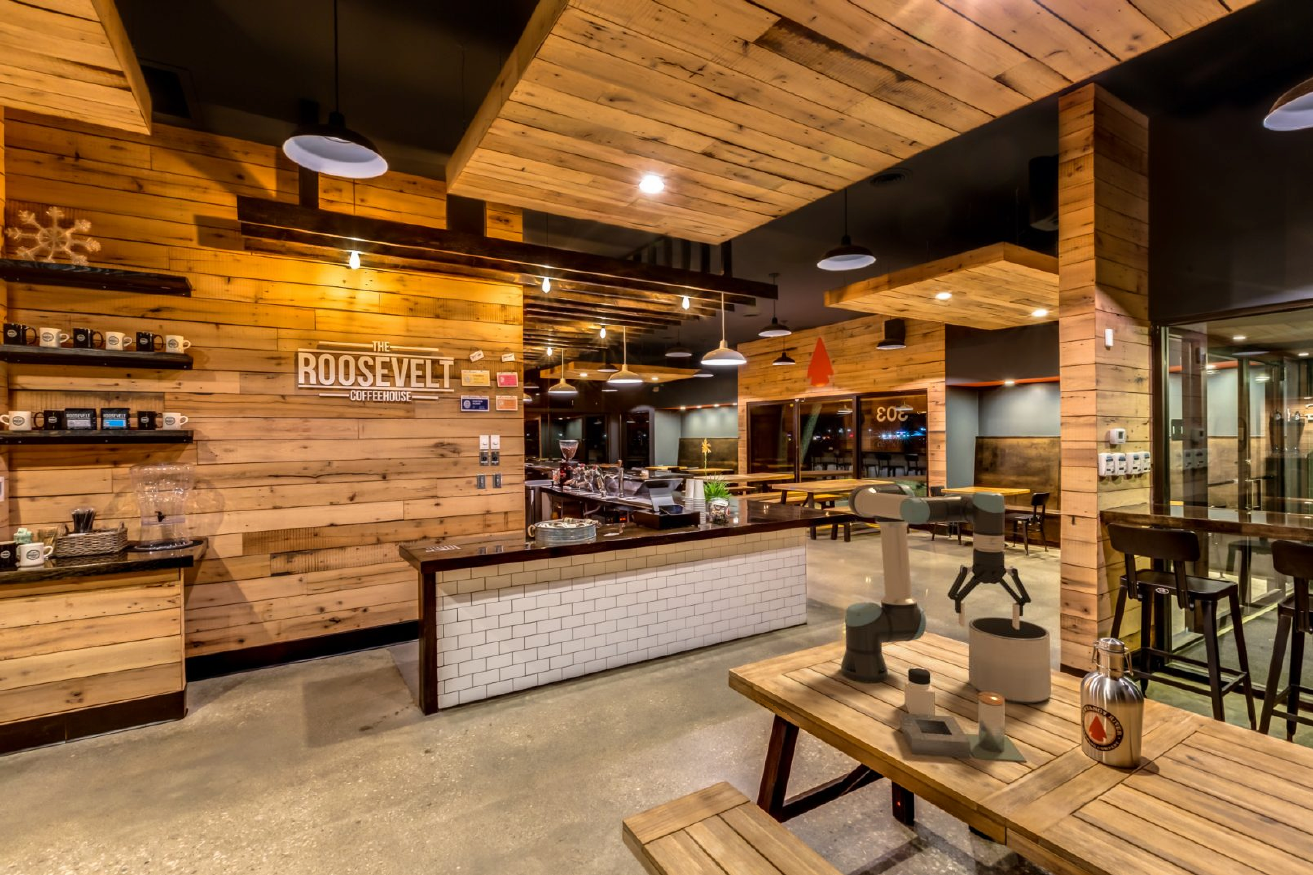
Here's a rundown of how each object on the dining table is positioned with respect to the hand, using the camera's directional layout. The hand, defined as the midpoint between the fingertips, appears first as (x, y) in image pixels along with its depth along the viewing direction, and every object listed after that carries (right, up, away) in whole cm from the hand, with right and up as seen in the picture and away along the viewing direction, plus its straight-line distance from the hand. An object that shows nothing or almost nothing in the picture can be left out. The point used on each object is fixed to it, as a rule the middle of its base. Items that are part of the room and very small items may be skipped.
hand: (988, 626), depth 164 cm
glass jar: (-3, -29, -7) cm, 30 cm away
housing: (-17, -30, -4) cm, 34 cm away
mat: (-3, -30, -7) cm, 31 cm away
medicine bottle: (-12, -30, +15) cm, 35 cm away
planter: (+21, -29, +27) cm, 45 cm away
